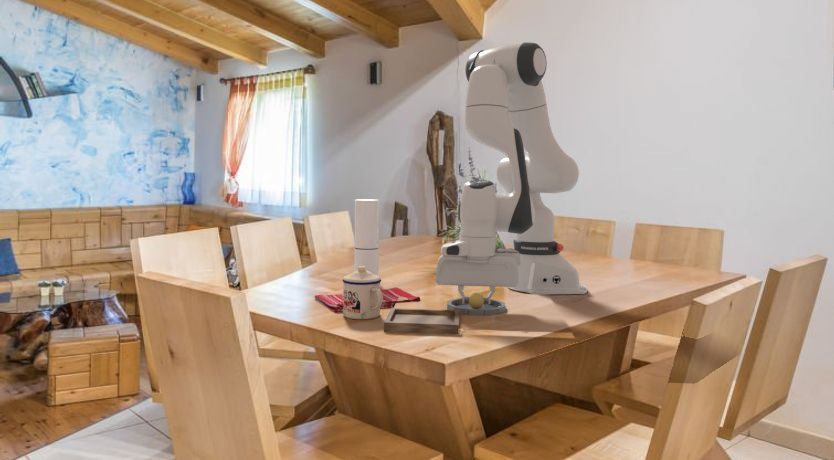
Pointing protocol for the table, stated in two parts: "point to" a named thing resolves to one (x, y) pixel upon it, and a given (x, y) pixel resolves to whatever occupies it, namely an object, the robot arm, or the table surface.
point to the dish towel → (389, 301)
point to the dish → (490, 309)
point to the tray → (422, 321)
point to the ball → (476, 300)
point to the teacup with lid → (362, 295)
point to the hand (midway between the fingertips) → (476, 303)
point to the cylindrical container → (366, 235)
